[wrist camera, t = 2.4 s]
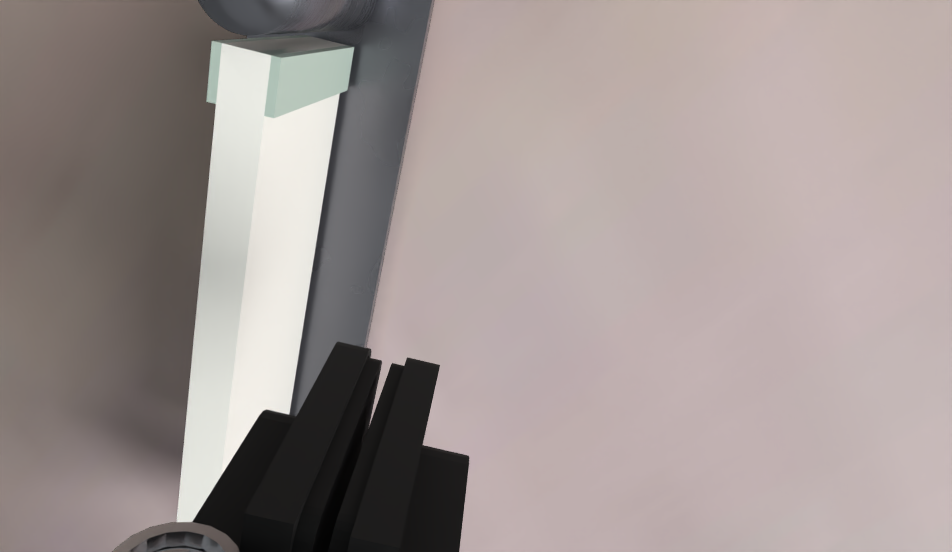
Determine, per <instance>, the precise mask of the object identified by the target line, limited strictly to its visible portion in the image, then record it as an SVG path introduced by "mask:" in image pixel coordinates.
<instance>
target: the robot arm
mask: <svg viewBox="0 0 952 552" xmlns="http://www.w3.org/2000/svg"><path fill="white" fill-rule="evenodd" d="M370 357H371V349H369V348H364V347H360V346H356V345H352V344H347V343H343V342H339V341H338V342H336V344H335V346H334V348H333V349H332V351H331V353H330V355H329V357H328V359H327V361H326V362H325V364H324V366H323V368H322V370H321V372H320V374H319V375H318V377H317V379H316V381H315V383H314V385H313V387H312V388H311V390H310V392H309V394H308V396H307V398H306V400H305V401H304V403H303V405H302V407H301V409H300V411H299V413H298V414H297V416H293V415H289V414H284V413H280V412H276V411H271V410H267V409H266V410H264V411H262V413H261V414H260V415H259V417H258V418H257V420H256V421H255V423H254V424H253V426H252V428H251V429H250V431H249V432H248V434H247V436H246V437H245V439H244V440H243V442H242V444H241V445H240V447H239V448H238V450H237V451H236V453H235V455H234V456H233V458H232V459H231V461H230V463H229V464H228V466H227V467H226V469H225V471H224V472H223V474H222V475H221V477H220V478H219V480H218V482H217V483H216V485H215V486H214V488H213V490H212V491H211V493H210V494H209V496H208V498H207V499H206V501H205V502H204V504H203V505H202V507H201V509H200V510H199V512H198V513H197V515H196V517H195V518H194V520H193V521H192V522H171V523H166V524H162V525H157V526H153V527H149V528H147V529H145V530H143V531H141V532H139V533H136V534H134V535H132V536H130V537H129V538H128V539H127V540H125V541H124V542H123V543H121V544H120V545H119V546H118V547H116V548H115V549H114V550H113V551H112V552H459V548H460V539H461V530H462V521H463V512H464V503H465V494H466V485H467V476H468V467H469V456H467V455H463V454H458V453H454V452H450V451H445V450H441V449H437V448H432V447H428V446H424V445H422V444H423V440H424V435H425V431H426V426H427V422H428V417H429V413H430V408H431V403H432V399H433V394H434V390H435V385H436V381H437V376H438V372H439V367H440V365H437V364H433V363H429V362H424V361H420V360H416V359H412V358H407V360H406V363H405V366H402V365H398V364H393V363H392V364H391V367H390V370H389V373H388V376H387V378H386V381H385V384H384V387H383V390H382V393H381V395H380V398H379V401H378V404H377V407H376V409H375V412H374V415H373V418H372V421H371V424H370V419H371V414H372V409H373V404H374V399H375V394H376V389H377V385H378V380H379V375H380V370H381V364H382V361H381V360H376V359H372V358H370ZM369 424H370V426H369ZM368 428H369V429H368Z"/></svg>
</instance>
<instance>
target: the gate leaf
mask: <svg viewBox="0 0 952 552" xmlns="http://www.w3.org/2000/svg"><path fill="white" fill-rule="evenodd" d="M353 52H354V47H352V46H348V45H344V44H340V43H336V42H332V41H328V40H324V39H320V38H316V37H312V36H308V35H295V36H279V37H263V38H246V39H230V40H214V41H212V44H211V55H210V67H209V78H208V89H207V100H206V102H210V103H214V104H216V109H215V120H214V131H213V141H212V152H211V162H210V173H209V183H208V194H207V205H206V215H205V226H204V236H203V247H202V257H201V268H200V279H199V289H198V300H197V310H196V321H195V332H194V342H193V353H192V363H191V374H190V384H189V395H188V406H187V416H186V427H185V437H184V448H183V459H182V469H181V480H180V490H179V501H178V511H177V522H192V521H193V520H194V518H195V517H196V515H197V513H198V512H199V510H200V509H201V507H202V505H203V504H204V502H205V501H206V499H207V498H208V496H209V494H210V493H211V491H212V490H213V488H214V486H215V485H216V483H217V482H218V480H219V478H220V477H221V475H222V474H223V472H224V471H225V469H226V467H227V466H228V464H229V463H230V461H231V459H232V458H233V456H234V455H235V453H236V451H237V450H238V448H239V447H240V445H241V444H242V442H243V440H244V439H245V437H246V436H247V434H248V432H249V431H250V429H251V428H252V426H253V424H254V423H255V421H256V420H257V418H258V417H259V415H260V414H261V413H262V411H264V410H266V409H267V410H271V411H276V412H280V413H284V414H289V413H290V407H291V400H292V394H293V388H294V381H295V375H296V369H297V362H298V356H299V349H300V343H301V337H302V330H303V324H304V318H305V311H306V305H307V299H308V292H309V286H310V280H311V273H312V267H313V260H314V254H315V248H316V241H317V235H318V229H319V222H320V216H321V210H322V203H323V197H324V190H325V184H326V178H327V171H328V165H329V159H330V152H331V146H332V140H333V133H334V127H335V120H336V114H337V108H338V101H339V95H340V93H342V92H345V91H347V90H348V83H349V77H350V71H351V65H352V58H353Z"/></svg>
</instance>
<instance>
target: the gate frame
mask: <svg viewBox="0 0 952 552" xmlns="http://www.w3.org/2000/svg"><path fill="white" fill-rule="evenodd" d="M198 1H199V3H200V5H201V6H202V8H203V9H204V11H205V12H206V13H207V15H208V16H209V17H210V18H211V19H212V20H213V21H215V22H216V23H217V24H218V25H220V26H221V27H223V28H224V29H226V30H229V31H231V32H234V33H237V34H241V35H247V38H263V37H279V36H295V35H308V36H312V37H316V38H320V39H324V40H328V41H332V42H336V43H340V44H344V45H348V46H352V47H354V52H353V58H352V65H351V71H350V77H349V83H348V90H347V91H345V92H342V93H340V95H339V101H338V108H337V114H336V120H335V127H334V133H333V140H332V146H331V152H330V159H329V165H328V171H327V178H326V184H325V190H324V197H323V203H322V210H321V216H320V222H319V229H318V235H317V241H316V248H315V254H314V260H313V267H312V273H311V280H310V286H309V292H308V299H307V305H306V311H305V318H304V324H303V330H302V337H301V343H300V349H299V356H298V362H297V369H296V375H295V381H294V388H293V394H292V400H291V407H290V413H289V415H293V416H297V414H298V413H299V411H300V409H301V407H302V405H303V403H304V401H305V400H306V398H307V396H308V394H309V392H310V390H311V388H312V387H313V385H314V383H315V381H316V379H317V377H318V375H319V374H320V372H321V370H322V368H323V366H324V364H325V362H326V361H327V359H328V357H329V355H330V353H331V351H332V349H333V348H334V346H335V344H336V342H338V341H339V342H343V343H347V344H352V345H356V346H360V347H364V348H366V347H367V342H368V337H369V332H370V326H371V321H372V316H373V311H374V306H375V301H376V296H377V291H378V286H379V281H380V275H381V270H382V265H383V260H384V255H385V250H386V245H387V240H388V235H389V230H390V225H391V219H392V214H393V209H394V204H395V199H396V194H397V189H398V184H399V179H400V174H401V168H402V163H403V158H404V153H405V148H406V143H407V138H408V133H409V128H410V123H411V118H412V112H413V107H414V102H415V97H416V92H417V87H418V82H419V77H420V72H421V67H422V61H423V56H424V51H425V46H426V41H427V36H428V31H429V26H430V21H431V16H432V11H433V5H434V0H198Z"/></svg>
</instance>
